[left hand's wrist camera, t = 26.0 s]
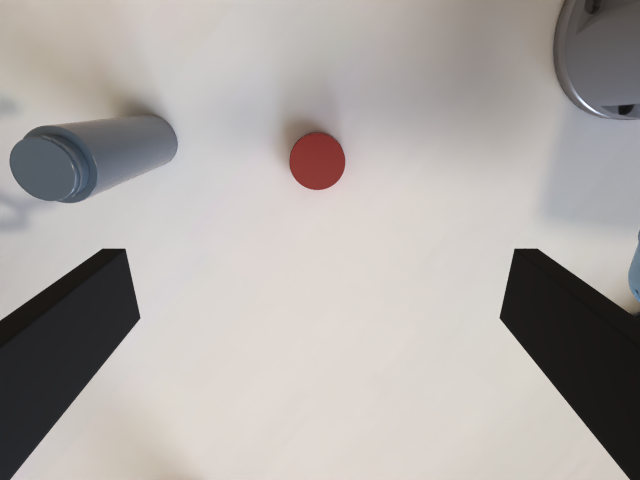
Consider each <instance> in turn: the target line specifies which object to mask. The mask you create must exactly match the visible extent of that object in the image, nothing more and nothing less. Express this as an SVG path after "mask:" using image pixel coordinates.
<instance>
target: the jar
mask: <svg viewBox="0 0 640 480" xmlns="http://www.w3.org/2000/svg"><path fill="white" fill-rule="evenodd" d="M176 151H177V138H176V135H175V133H174V131H173V129H172V128H171V126H170V125H169V124H168V123H167V122H166V121H165V120H163V119H162V118H160V117H157V116H154V115H139V116H130V117H120V118H111V119H102V120H93V121H84V122H74V123H65V124H56V125H47V126H40V127H37V128H35V129H33V130H31V131H30V132H28V133H27V134H26V135H25V137H24V138H23V140H21V141H19V142H18V143H17V144H16V145H15V146H14V148H13V149H12V151H11V154H10V167H11V171H12V173H13V176H14V178H15V179H16V181H17V182H18V184H19V185H20V186H21V187H22V188H23V189H24V190H25V191H26V192H28V193H29V194H31V195H32V196H34V197H36V198H39V199H42V200H46V201H58V202H62V203H76V202H80V201H83V200H85V199H87V198H90V197H92V196H94V195H96V194H99V193H101V192H103V191H105V190H108V189H110V188H112V187H114V186H117V185H119V184H121V183H123V182H126V181H128V180H130V179H133V178H135V177H137V176H139V175H142V174H144V173H146V172H148V171H151V170H153V169H155V168H157V167H160V166H162V165H164V164H167V163H168V162H170V161H171V160H172V159H173V157H174V156H175V154H176Z"/></svg>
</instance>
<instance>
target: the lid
mask: <svg viewBox="0 0 640 480" xmlns="http://www.w3.org/2000/svg"><path fill="white" fill-rule="evenodd" d="M344 168H345V156H344V153H343V150H342V148H341V146H340V144H339V143H338V142H337V140H336V139H334V138H333V137H332V136H330V135H328V134H325V133H321V132H314V133H310V134H307V135H305V136H303V137H302V138H300V139H299V140H298V141H297V143H296V144H295V146H294V147H293V149H292V152H291V155H290V169H291V172H292V174H293V176H294V178H295V179H296V180H297V181H298V182H299V183H300V184H301V185H303V186H304V187H306V188H309V189H313V190H322V189H326V188H329V187H331V186H332V185H334V184H335V183H336V182H337V181H338V180H339V179H340V177H341V176H342V174H343V171H344Z"/></svg>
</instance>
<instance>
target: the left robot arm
mask: <svg viewBox="0 0 640 480" xmlns="http://www.w3.org/2000/svg"><path fill="white" fill-rule="evenodd" d="M554 60H555V67H556V72H557V76H558V79H559V81H560V84H561V86H562V88H563V90H564V91H565V93H566V94H567V96H568V97H569V98H570V100H571V101H572V102H573V103H574V104H575V105H577V106H578V107H579V108H581V109H582V110H584V111H585V112H587V113H590V114H592V115H594V116H598V117H602V118H607V119H620V120H636V119H640V0H566V2H565V4H564V6H563V9H562V11H561V14H560V17H559V21H558V25H557V29H556V34H555V42H554ZM638 240H639V243H638V246H637V249H636V252H635V255H634V258H633V260H632V263H631V266H630V269H629V274H628V281H629V286H630V289H631V291H632V293H633V294H634V296H635V298H636V299H637V300H638V301H639V302H640V230H639V234H638ZM139 319H140V314H139V309H138V305H137V300H136V295H135V291H134V286H133V282H132V277H131V272H130V268H129V263H128V259H127V254H126V249H102V250H100V251H99V252H97V253H96V254H94V255H93V256H92V257H90V258H89V259H87V260H86V261H84V262H83V263H82V264H80V265H79V266H77V267H76V268H75V269H73V270H72V271H70V272H69V273H67V274H66V275H65V276H63V277H62V278H60V279H59V280H57V281H56V282H55V283H53V284H52V285H50V286H49V287H48V288H46V289H45V290H43V291H42V292H40V293H39V294H38V295H36V296H35V297H33V298H32V299H30V300H29V301H28V302H26V303H25V304H23V305H22V306H21V307H19V308H18V309H16V310H15V311H13V312H12V313H11V314H9V315H8V316H6V317H5V318H3V319H2V320H1V321H0V480H10V479H11V478H12V477H13V475H14V474H15V473H16V472H17V470H18V469H19V468H20V467H21V465H22V464H23V463H24V462H25V460H26V459H27V458H28V457H29V455H30V454H31V453H32V452H33V451H34V449H35V448H36V447H37V446H38V444H39V443H40V442H41V441H42V439H43V438H44V437H45V436H46V434H47V433H48V432H49V431H50V429H51V428H52V427H53V426H54V425H55V423H56V422H57V421H58V420H59V418H60V417H61V416H62V415H63V413H64V412H65V411H66V410H67V408H68V407H69V406H70V405H71V403H72V402H73V401H74V400H75V399H76V397H77V396H78V395H79V394H80V392H81V391H82V390H83V389H84V387H85V386H86V385H87V384H88V382H89V381H90V380H91V379H92V377H93V376H94V375H95V374H96V373H97V371H98V370H99V369H100V368H101V366H102V365H103V364H104V363H105V361H106V360H107V359H108V358H109V356H110V355H111V354H112V353H113V351H114V350H115V349H116V348H117V347H118V345H119V344H120V343H121V342H122V340H123V339H124V338H125V337H126V335H127V334H128V333H129V332H130V330H131V329H132V328H133V327H134V325H135V324H136V323H137V322H138V321H139ZM500 319H501V321H502V322H503V323H504V324H505V325H506V327H507V328H508V329H509V330H510V332H511V333H512V334H513V335H514V337H515V338H516V339H517V340H518V342H519V343H520V344H521V345H522V347H523V348H524V349H525V350H526V351H527V353H528V354H529V355H530V356H531V358H532V359H533V360H534V361H535V363H536V364H537V365H538V366H539V368H540V369H541V370H542V371H543V373H544V374H545V375H546V376H547V377H548V379H549V380H550V381H551V382H552V384H553V385H554V386H555V387H556V389H557V390H558V391H559V392H560V394H561V395H562V396H563V397H564V399H565V400H566V401H567V402H568V403H569V405H570V406H571V407H572V408H573V410H574V411H575V412H576V413H577V415H578V416H579V417H580V418H581V420H582V421H583V422H584V423H585V425H586V426H587V427H588V428H589V429H590V431H591V432H592V433H593V434H594V436H595V437H596V438H597V439H598V441H599V442H600V443H601V444H602V446H603V447H604V448H605V449H606V451H607V452H608V453H609V454H610V455H611V457H612V458H613V459H614V460H615V462H616V463H617V464H618V465H619V467H620V468H621V469H622V470H623V472H624V473H625V474H626V475H627V477H628V478H629V479H630V480H640V321H639V320H638V319H637V318H635V317H634V316H632V315H631V314H629V313H628V312H627V311H625V310H624V309H622V308H621V307H619V306H618V305H617V304H615V303H614V302H612V301H611V300H610V299H608V298H607V297H605V296H604V295H602V294H601V293H600V292H598V291H597V290H595V289H594V288H592V287H591V286H590V285H588V284H587V283H585V282H584V281H583V280H581V279H580V278H578V277H577V276H575V275H574V274H573V273H571V272H570V271H568V270H567V269H565V268H564V267H563V266H561V265H560V264H558V263H557V262H556V261H554V260H553V259H551V258H550V257H548V256H547V255H546V254H544V253H543V252H541V251H540V250H538V249H514V254H513V259H512V263H511V268H510V272H509V277H508V282H507V286H506V291H505V295H504V300H503V305H502V309H501V314H500Z"/></svg>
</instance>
